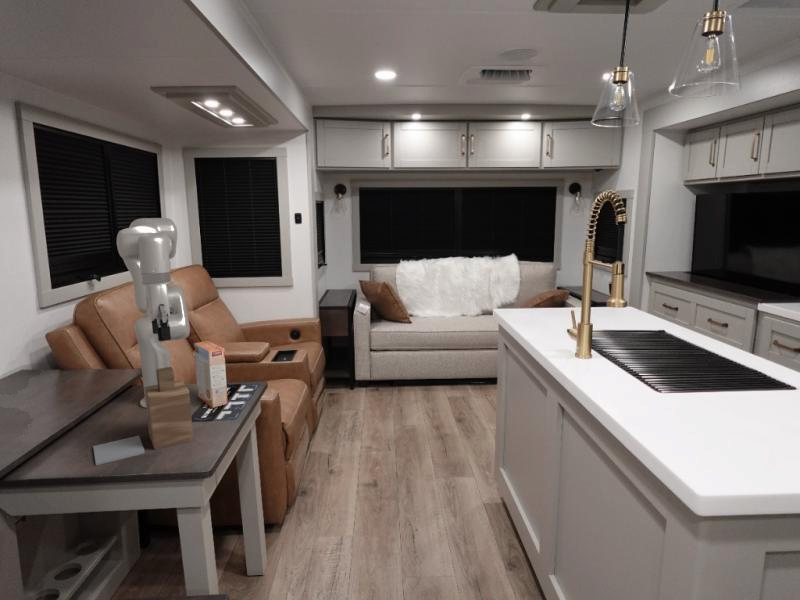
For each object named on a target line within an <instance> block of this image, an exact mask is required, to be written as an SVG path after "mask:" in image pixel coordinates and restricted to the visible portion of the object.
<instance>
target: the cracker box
mask: <svg viewBox="0 0 800 600" xmlns="http://www.w3.org/2000/svg"><path fill="white" fill-rule="evenodd" d="M193 346H194V356H195V373H196V385H197V398H199V399H200V400H201V401H203V402H204V403H205V404H206V405H208V406H209V407H211V408H212V409H215V408H218V406H219V407H223V406H226V405H228V403H229V402H228V401H229V400H228V387H227V372H226V371H227V370H226V356H225V355H226V354H225V348H224V347H222V346H220V345H219V344H216V343H214V342H213V341H210V340H204V341H200V342H199V341H198V342H195V343H194V345H193ZM222 405H223V406H222Z"/></svg>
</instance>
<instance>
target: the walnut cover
mask: <svg viewBox="0 0 800 600" xmlns="http://www.w3.org/2000/svg"><path fill="white" fill-rule="evenodd" d="M156 372H157V382H158V385H153V386H148V387H144V386H143V390H144V389H145V396H144V397H145V399H146V408H145V409H146V415H147V416H146V417H147V424H148V425H147V427H148V436H149V439H150V442H151V443H152V446H153V449H154V450H161V449H164V448H167V447H172V446H176V445H180V444H184V443H187V442H191V441H192V442H193V441H194V439H195V438H194V429H193V419H192V417H193V416H192V407H191V395H190V393H191V392H190V389H189V388H188V386H187V385H186V383H185V382H184V381H183V380H181V379H180V380H177V381H175V375H174V369H173V368H172V366H171V367H165V368H159V369H156Z"/></svg>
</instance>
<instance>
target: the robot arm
mask: <svg viewBox="0 0 800 600" xmlns="http://www.w3.org/2000/svg"><path fill="white" fill-rule="evenodd" d="M177 228H178V227H177V225H176V223H175V222H174V221H173V220H172V219H170V218H169V217H168V218H167V217H150V218H148V217H141V218H137V219H134V220H133V221H131V223H130V225H129V227H127V228H123V229H121V230H119V231H118V233H117V236H116V247H117V251H118V252H117V253H118V254H119V256H120V257H121V258H122V260H123V262H124V265H125V266H126V268H127V270H128V271H129V273H130V275H131V277H132V285H133V292H134V298H135V299H134V300H135V305H136V309H137V310H138V311H139V312H140V313H142V314H146V315H147V316H146V315H145V316H142V317H139V319H137V320H136V321H135V323H134V326H133V327H134V333H135V337H136V340H137V346H138V351H139V357H140V366H141V376H142V384H143V385H142V386H143V392H144V393H143V394H144V397H143V398H142V399H141V400H140V402H139V403H140V405H139V406H141V407H142V408H145V409H147V408H146V399H145V389H144V387H148V386H153V385H158V382H157V372H156V369H159V368H165V367H171V368H172V360H171V353H170V351H169V349H168V348H167V347H166V346H165V345H164V344H162V343H165V342H170V341H171V342H172V341H178V340H184V339H187V338H189V336H190V332H191V328H190V319H189V314H188V308H187V300H186V296H185V292H184V290H183V289H182V287H181V286H180V285H177V284H172V279H171V278H172V277H171V267H170V260H172V259H174V258H175V256H176V254H177V246H178V245H177V244H178V229H177Z"/></svg>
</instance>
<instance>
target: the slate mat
mask: <svg viewBox="0 0 800 600" xmlns="http://www.w3.org/2000/svg"><path fill="white" fill-rule="evenodd" d="M92 447H93V454H94V462H95V466H99V465H104V464H107V463H111V462H115V461H121V460H123V459H124V460H125V459H128V458H131V457H132V458H133V457H136V456H140V455H143V454H144V455H145V454H146V452H145V448H144V446H143V442H142V440H141V438H140V435H135V436H132V437H127V438H122V439H117V440H114V441H110V442H106V443H101V444H96V445H93V446H92Z"/></svg>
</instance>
